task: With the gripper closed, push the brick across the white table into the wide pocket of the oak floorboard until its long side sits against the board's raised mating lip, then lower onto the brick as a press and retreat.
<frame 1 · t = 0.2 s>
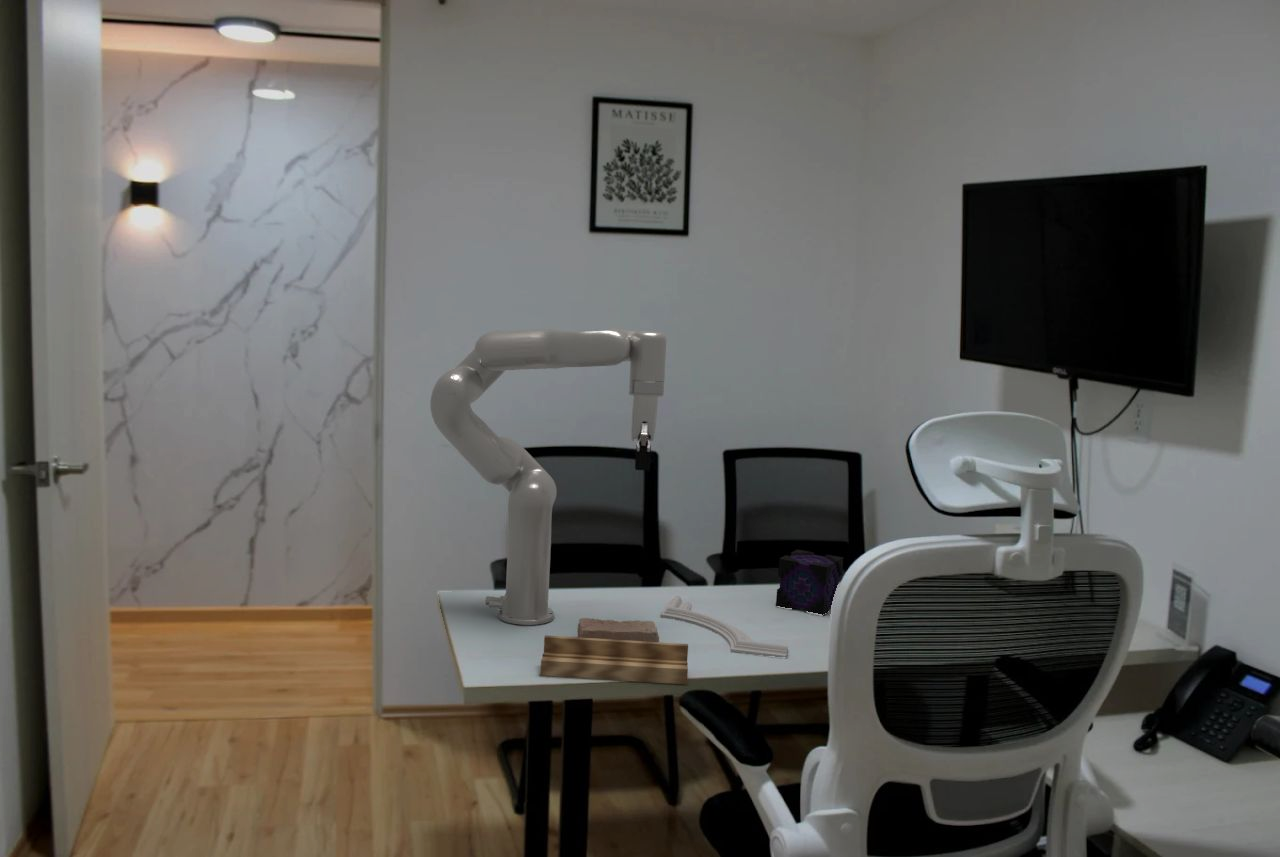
hand: (642, 466, 243), 36 cm above the table, tool pointing down, fingers open, 9 cm apart
energy cube: (807, 606, 271), on the table
brick: (617, 645, 234), on the table
molding: (723, 632, 248), on the table
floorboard: (614, 674, 216), on the table
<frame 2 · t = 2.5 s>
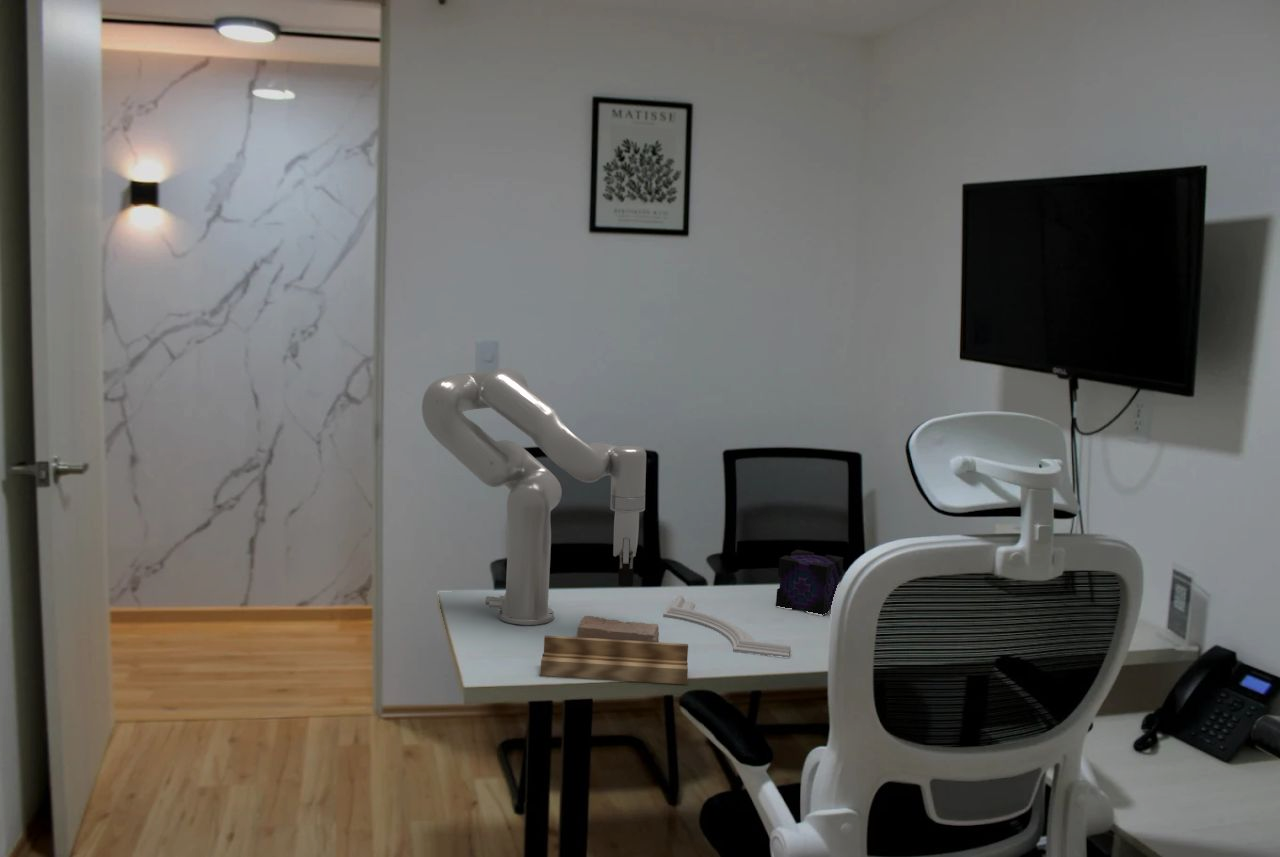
hand: (625, 585, 244), 10 cm above the table, tool pointing down, fingers closed
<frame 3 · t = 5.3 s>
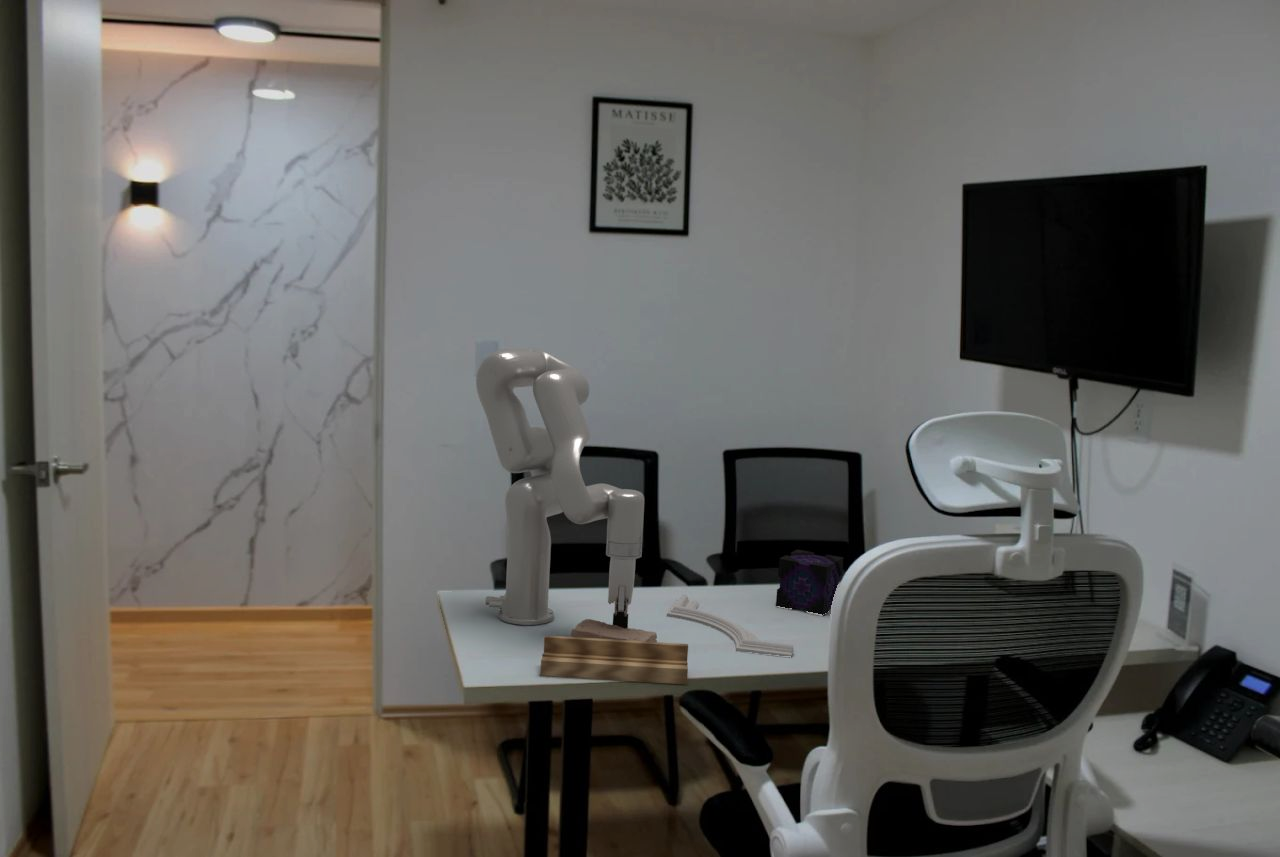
hand: (619, 632, 237), 1 cm above the table, tool pointing down, fingers closed
brick: (613, 651, 231), on the table
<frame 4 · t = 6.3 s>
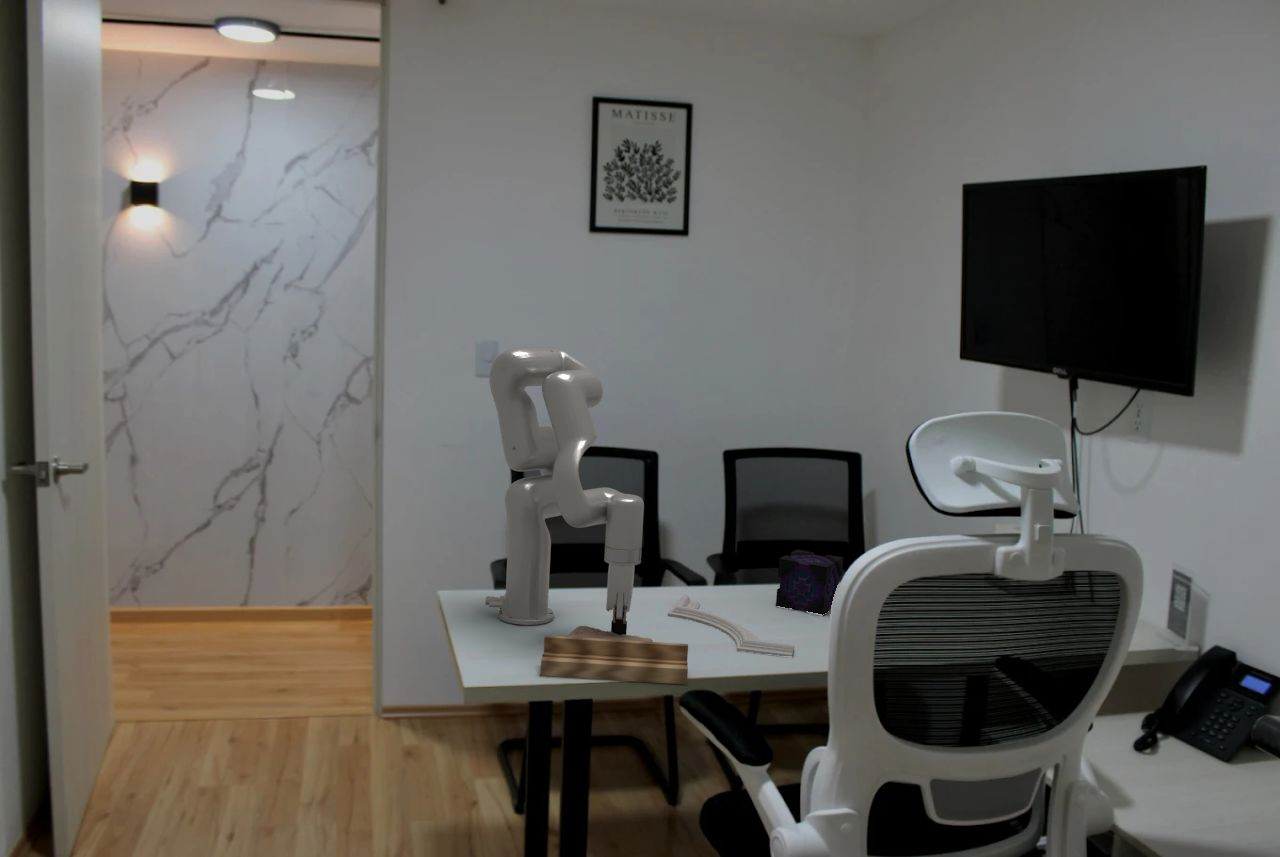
hand: (618, 640, 232), 1 cm above the table, tool pointing down, fingers closed
brick: (609, 658, 226), on the table, touching gripper
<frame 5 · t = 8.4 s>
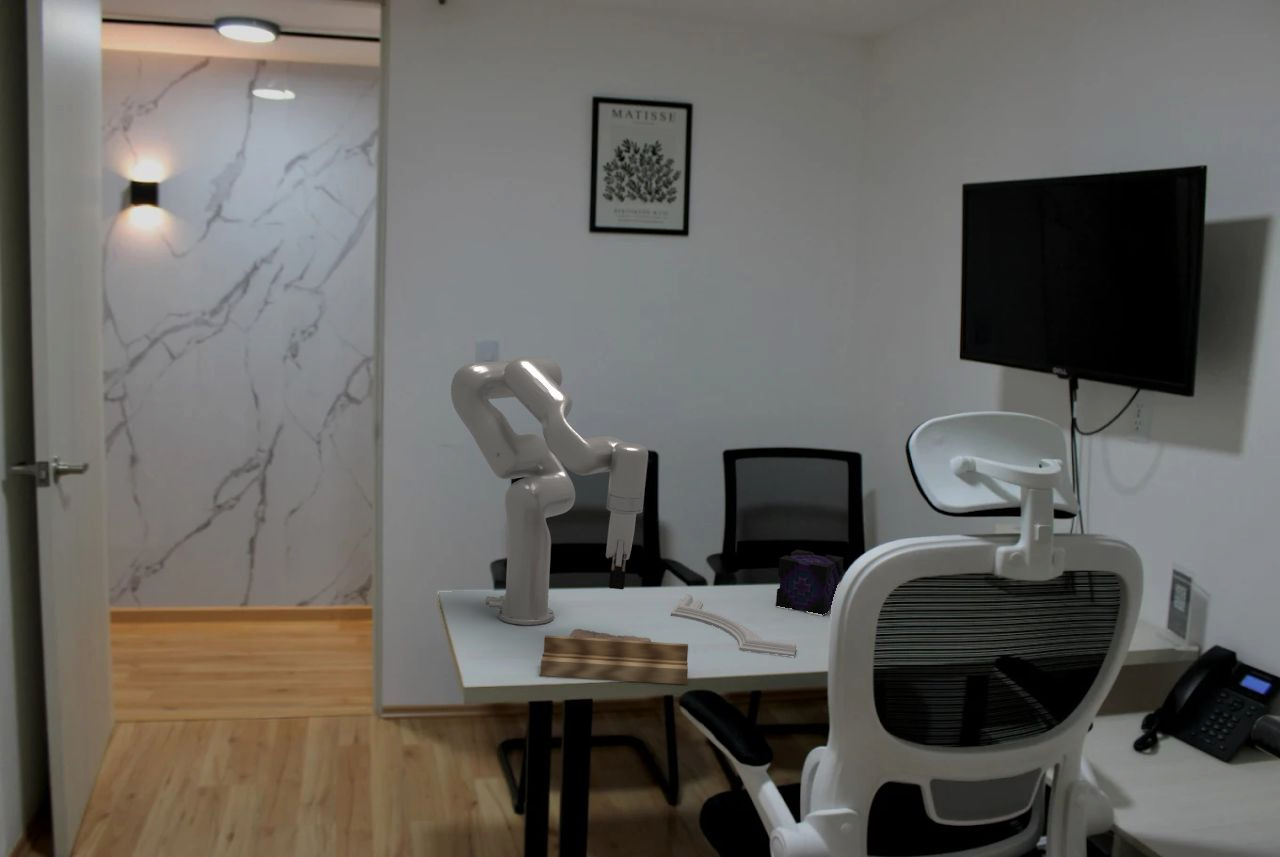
hand: (616, 587, 234), 12 cm above the table, tool pointing down, fingers closed
brick: (608, 660, 225), on the table
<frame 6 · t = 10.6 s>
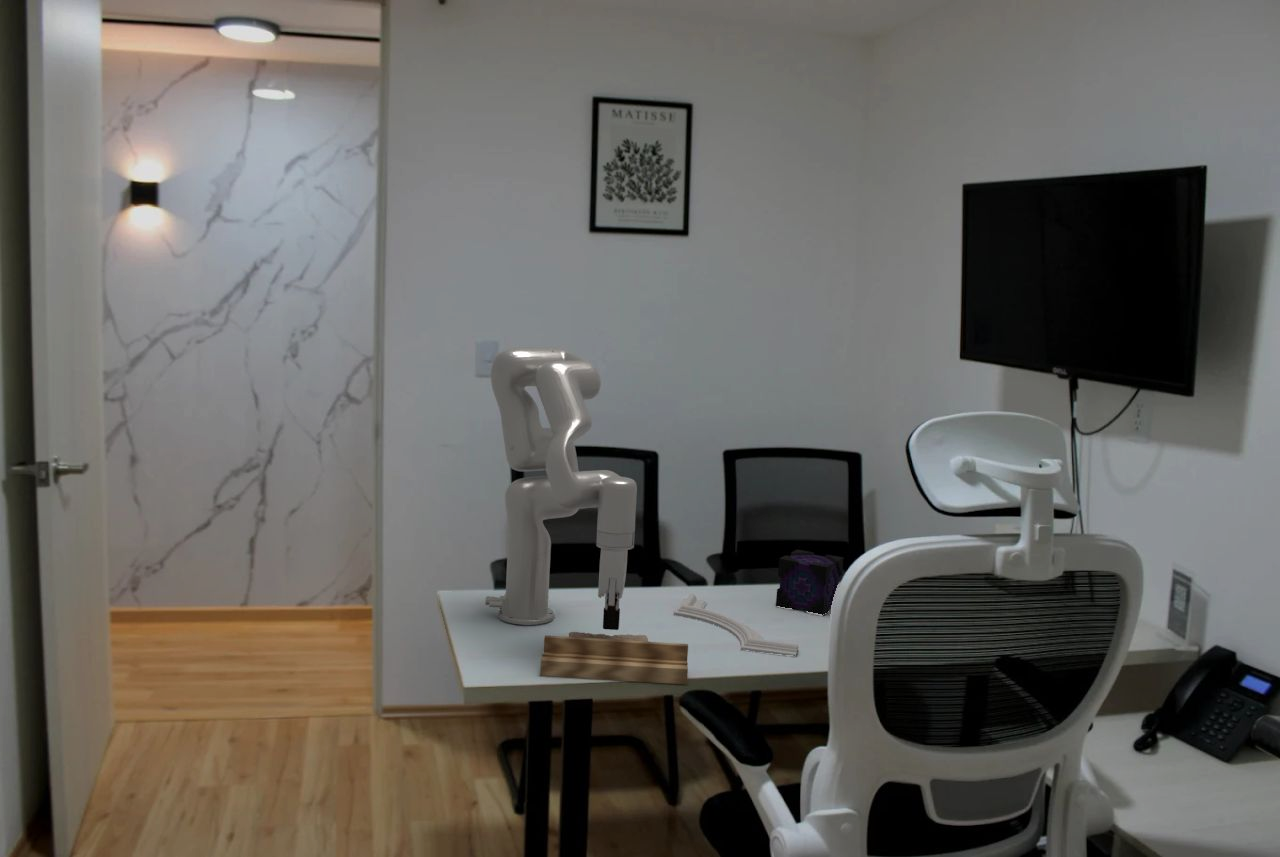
hand: (610, 628, 224), 6 cm above the table, tool pointing down, fingers closed
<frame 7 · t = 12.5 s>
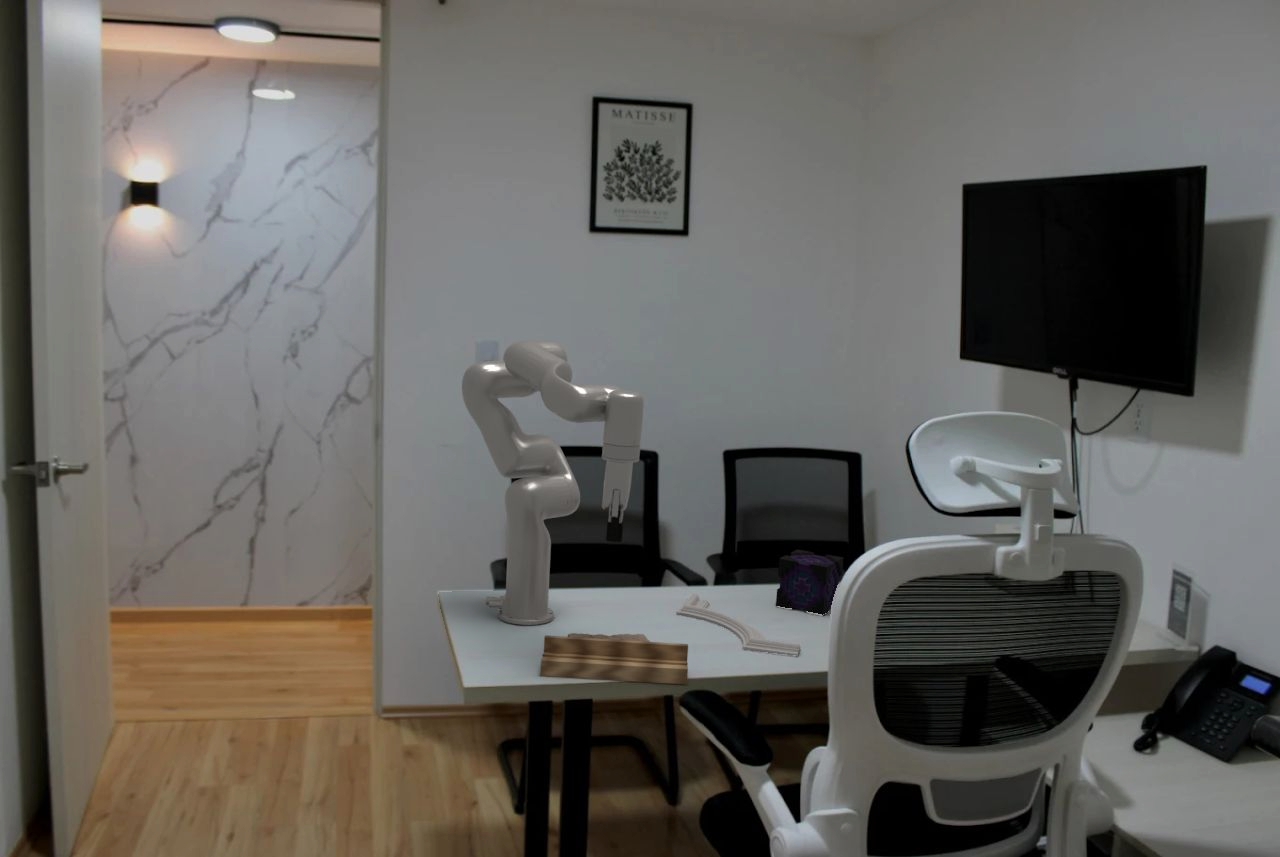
hand: (614, 540, 226), 23 cm above the table, tool pointing down, fingers closed
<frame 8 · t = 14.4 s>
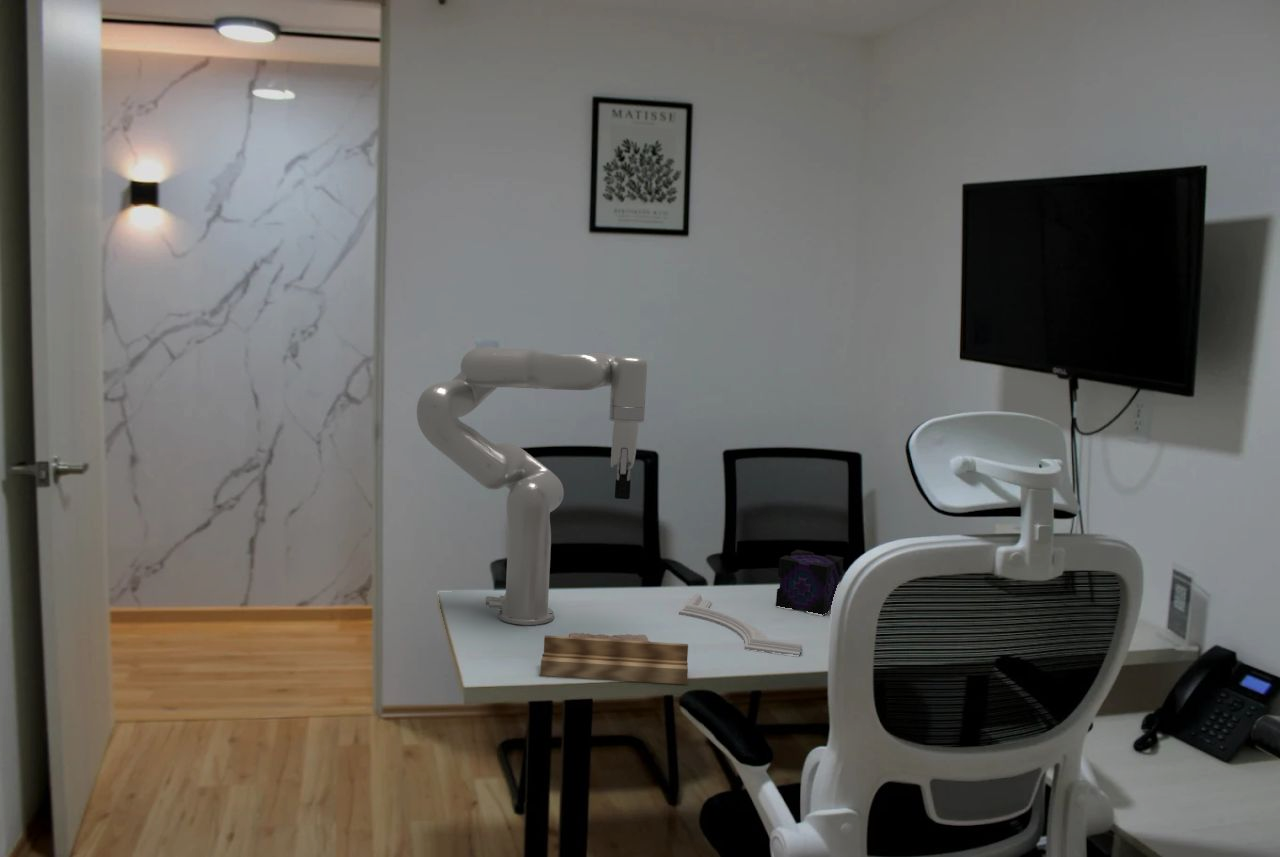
hand: (622, 498, 241), 29 cm above the table, tool pointing down, fingers closed
at the end: brick inside the target area on the table beside the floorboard (1.3 cm from its centre), on the table; brick moved 10.1 cm from its start; brick tilted 1° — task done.
